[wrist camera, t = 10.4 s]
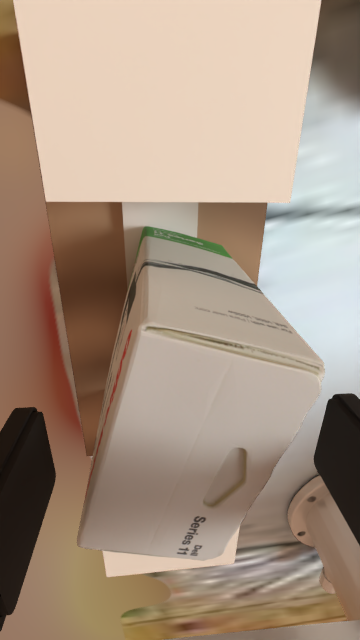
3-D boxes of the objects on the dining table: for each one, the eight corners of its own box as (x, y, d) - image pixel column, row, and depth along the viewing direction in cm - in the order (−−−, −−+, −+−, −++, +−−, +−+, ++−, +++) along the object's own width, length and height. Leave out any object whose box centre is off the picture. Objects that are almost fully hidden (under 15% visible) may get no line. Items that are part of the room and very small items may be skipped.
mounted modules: (208, 449, 25) (234, 563, 18) (114, 455, 24) (101, 577, 17) (237, 39, 14) (336, -96, 7) (67, 30, 13) (-25, -131, 6)
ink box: (142, 220, 17) (136, 313, 6) (227, 246, 18) (347, 362, 7) (108, 356, 20) (68, 565, 10) (181, 370, 21) (218, 573, 11)
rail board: (232, 431, 27) (238, 451, 25) (89, 441, 26) (85, 462, 24) (276, 44, 16) (294, 28, 14) (27, 31, 15) (9, 11, 13)
